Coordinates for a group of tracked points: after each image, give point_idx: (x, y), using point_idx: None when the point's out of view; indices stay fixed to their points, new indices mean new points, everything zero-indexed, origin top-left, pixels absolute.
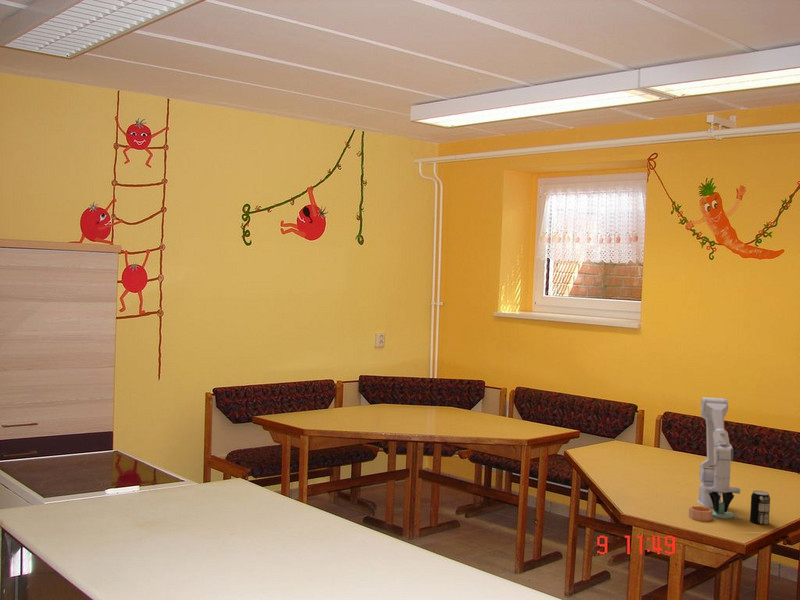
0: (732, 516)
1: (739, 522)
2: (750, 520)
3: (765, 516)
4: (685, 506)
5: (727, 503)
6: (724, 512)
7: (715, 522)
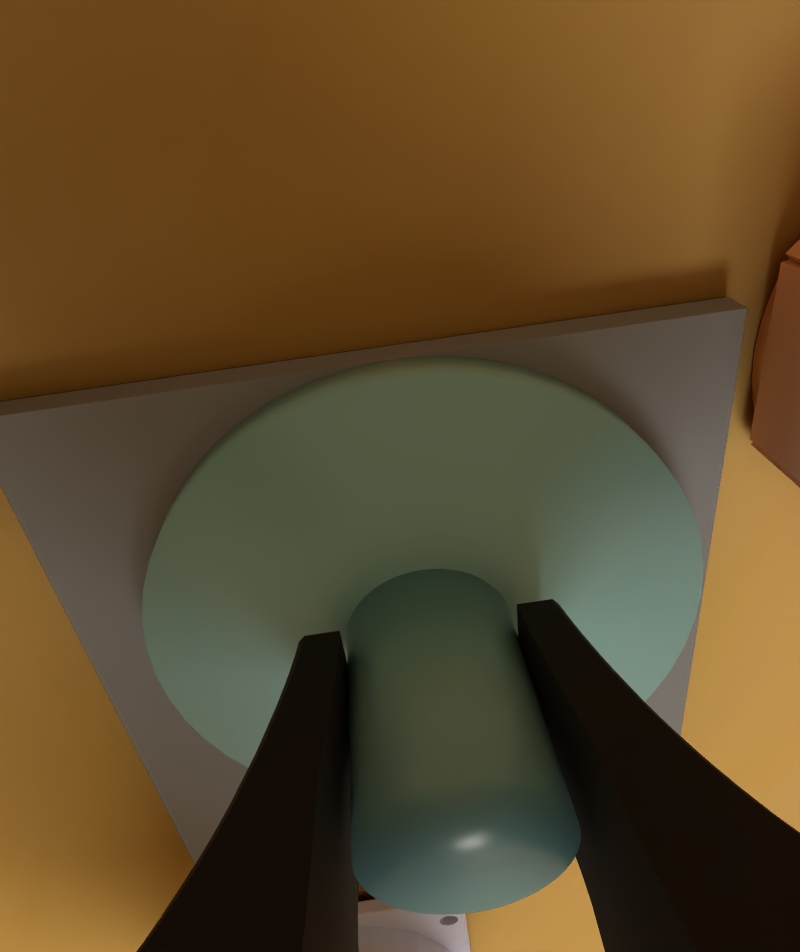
0: (216, 456)
1: (90, 219)
2: None
3: None
4: None
5: (300, 815)
6: None
7: (776, 96)
